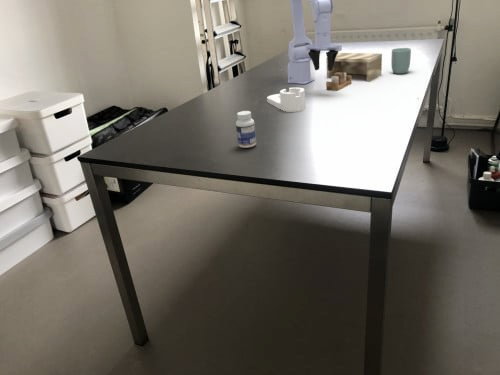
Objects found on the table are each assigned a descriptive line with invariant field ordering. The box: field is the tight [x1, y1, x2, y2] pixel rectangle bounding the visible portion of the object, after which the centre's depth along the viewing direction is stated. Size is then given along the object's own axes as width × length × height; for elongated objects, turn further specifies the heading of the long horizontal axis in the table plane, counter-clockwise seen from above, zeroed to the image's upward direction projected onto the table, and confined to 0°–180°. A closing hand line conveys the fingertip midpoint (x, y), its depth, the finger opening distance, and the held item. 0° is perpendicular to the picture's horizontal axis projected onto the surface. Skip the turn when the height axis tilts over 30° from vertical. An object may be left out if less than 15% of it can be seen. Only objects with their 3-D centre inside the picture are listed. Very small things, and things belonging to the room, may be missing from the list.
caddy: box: [325, 72, 352, 92], centre depth 180 cm, size 5×12×6 cm, turn 141°
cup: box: [390, 47, 412, 75], centre depth 190 cm, size 8×8×10 cm
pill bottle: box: [235, 110, 257, 148], centre depth 128 cm, size 5×5×10 cm
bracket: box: [266, 86, 306, 113], centre depth 164 cm, size 20×9×7 cm, turn 22°
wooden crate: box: [325, 52, 383, 83], centre depth 192 cm, size 20×12×9 cm, turn 51°
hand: (323, 70), depth 169 cm, fingers open, 5 cm apart
